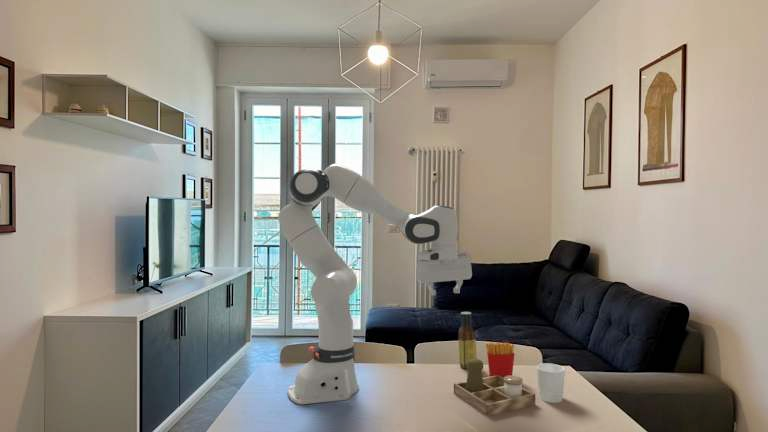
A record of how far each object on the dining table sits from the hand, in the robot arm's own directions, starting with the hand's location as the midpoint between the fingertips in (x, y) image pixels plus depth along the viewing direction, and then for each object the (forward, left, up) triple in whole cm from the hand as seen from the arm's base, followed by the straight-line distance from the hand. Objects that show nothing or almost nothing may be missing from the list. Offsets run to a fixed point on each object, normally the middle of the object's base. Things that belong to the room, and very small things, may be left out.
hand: (444, 294), depth 159 cm
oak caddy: (+4, -21, -29) cm, 36 cm away
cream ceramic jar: (+8, -25, -28) cm, 39 cm away
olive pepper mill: (0, -17, -28) cm, 33 cm away
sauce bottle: (+14, +7, -29) cm, 33 cm away
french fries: (+16, -9, -29) cm, 35 cm away
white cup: (+20, -28, -29) cm, 45 cm away
